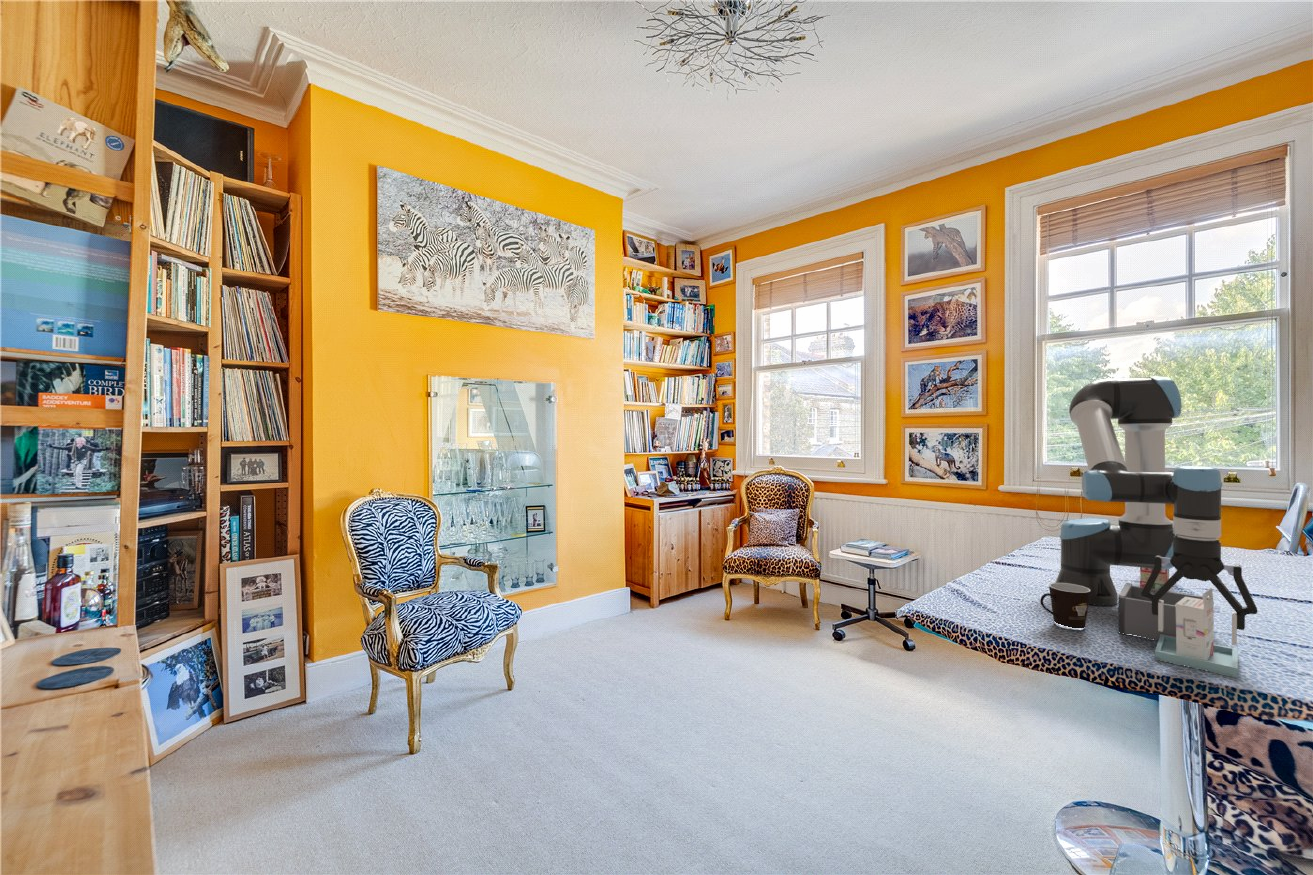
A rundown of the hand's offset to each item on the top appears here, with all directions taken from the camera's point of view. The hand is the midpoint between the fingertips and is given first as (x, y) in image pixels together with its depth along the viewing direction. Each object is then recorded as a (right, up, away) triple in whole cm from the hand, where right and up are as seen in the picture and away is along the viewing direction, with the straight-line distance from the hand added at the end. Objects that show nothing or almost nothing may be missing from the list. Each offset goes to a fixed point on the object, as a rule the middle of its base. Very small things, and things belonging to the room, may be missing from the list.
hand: (1196, 636), depth 122 cm
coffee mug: (-14, -5, +21) cm, 26 cm away
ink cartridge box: (0, -4, 0) cm, 4 cm away
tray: (0, -5, 0) cm, 5 cm away
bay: (+6, -5, +15) cm, 16 cm away
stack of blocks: (+40, -3, +55) cm, 68 cm away
